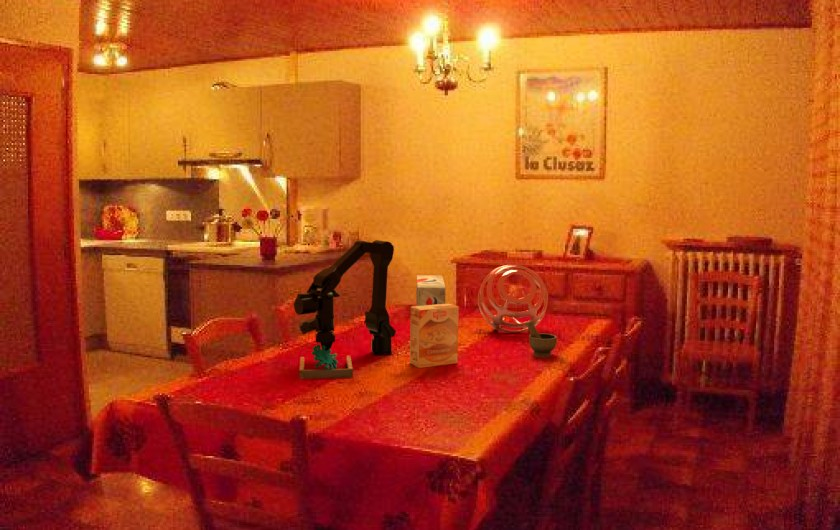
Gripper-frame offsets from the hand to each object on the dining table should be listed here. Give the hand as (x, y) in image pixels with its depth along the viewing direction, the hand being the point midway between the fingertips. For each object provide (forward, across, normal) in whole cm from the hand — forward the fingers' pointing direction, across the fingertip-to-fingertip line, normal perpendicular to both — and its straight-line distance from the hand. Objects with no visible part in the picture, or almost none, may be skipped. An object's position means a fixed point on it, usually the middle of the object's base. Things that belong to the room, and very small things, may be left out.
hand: (325, 357), depth 248 cm
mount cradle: (+2, +8, 0) cm, 9 cm away
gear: (+2, +6, 0) cm, 7 cm away
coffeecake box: (+2, +3, +36) cm, 36 cm away
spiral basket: (+2, -43, +75) cm, 86 cm away
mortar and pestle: (+2, -4, +75) cm, 75 cm away
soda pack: (+3, -92, +49) cm, 104 cm away
